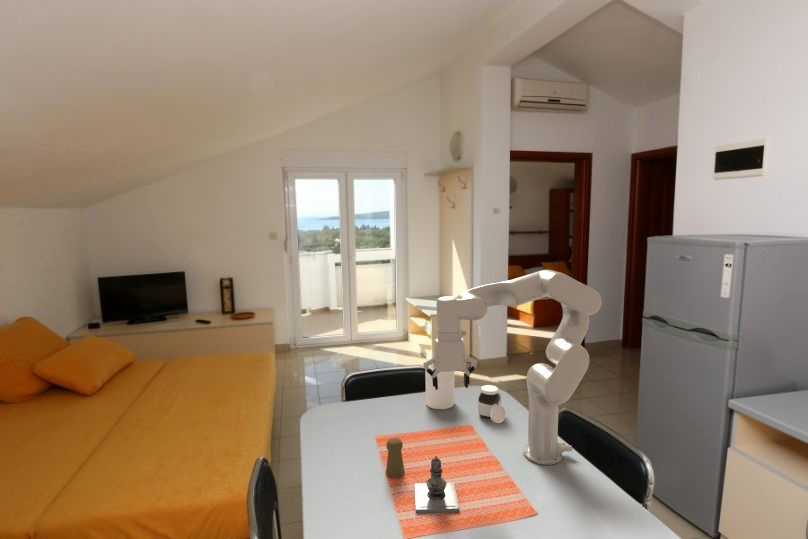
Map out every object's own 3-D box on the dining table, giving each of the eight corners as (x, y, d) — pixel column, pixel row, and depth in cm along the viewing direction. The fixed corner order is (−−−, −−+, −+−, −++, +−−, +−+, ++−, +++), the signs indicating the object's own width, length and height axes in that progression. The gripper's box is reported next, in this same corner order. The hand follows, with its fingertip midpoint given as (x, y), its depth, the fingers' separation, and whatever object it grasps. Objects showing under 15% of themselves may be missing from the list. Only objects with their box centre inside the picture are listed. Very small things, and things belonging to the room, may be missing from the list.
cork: (390, 479, 140) (390, 446, 139) (382, 470, 145) (381, 438, 144) (407, 474, 143) (407, 441, 141) (399, 465, 148) (398, 433, 147)
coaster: (454, 485, 136) (454, 482, 136) (459, 511, 124) (459, 507, 124) (414, 486, 136) (414, 483, 136) (416, 512, 124) (415, 509, 124)
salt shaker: (445, 502, 127) (445, 462, 125) (424, 500, 128) (424, 460, 126) (447, 489, 132) (447, 451, 131) (427, 487, 134) (427, 449, 132)
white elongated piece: (424, 409, 190) (423, 363, 187) (427, 397, 202) (426, 354, 199) (453, 411, 187) (453, 364, 185) (455, 398, 200) (455, 355, 197)
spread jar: (486, 408, 189) (486, 382, 188) (511, 415, 182) (512, 388, 181) (473, 419, 179) (473, 391, 178) (499, 427, 173) (499, 398, 171)
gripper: (474, 331, 146) (475, 381, 148) (421, 334, 145) (423, 384, 147) (479, 337, 138) (480, 390, 140) (423, 340, 138) (425, 393, 140)
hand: (451, 387), depth 144 cm, fingers open, 9 cm apart
